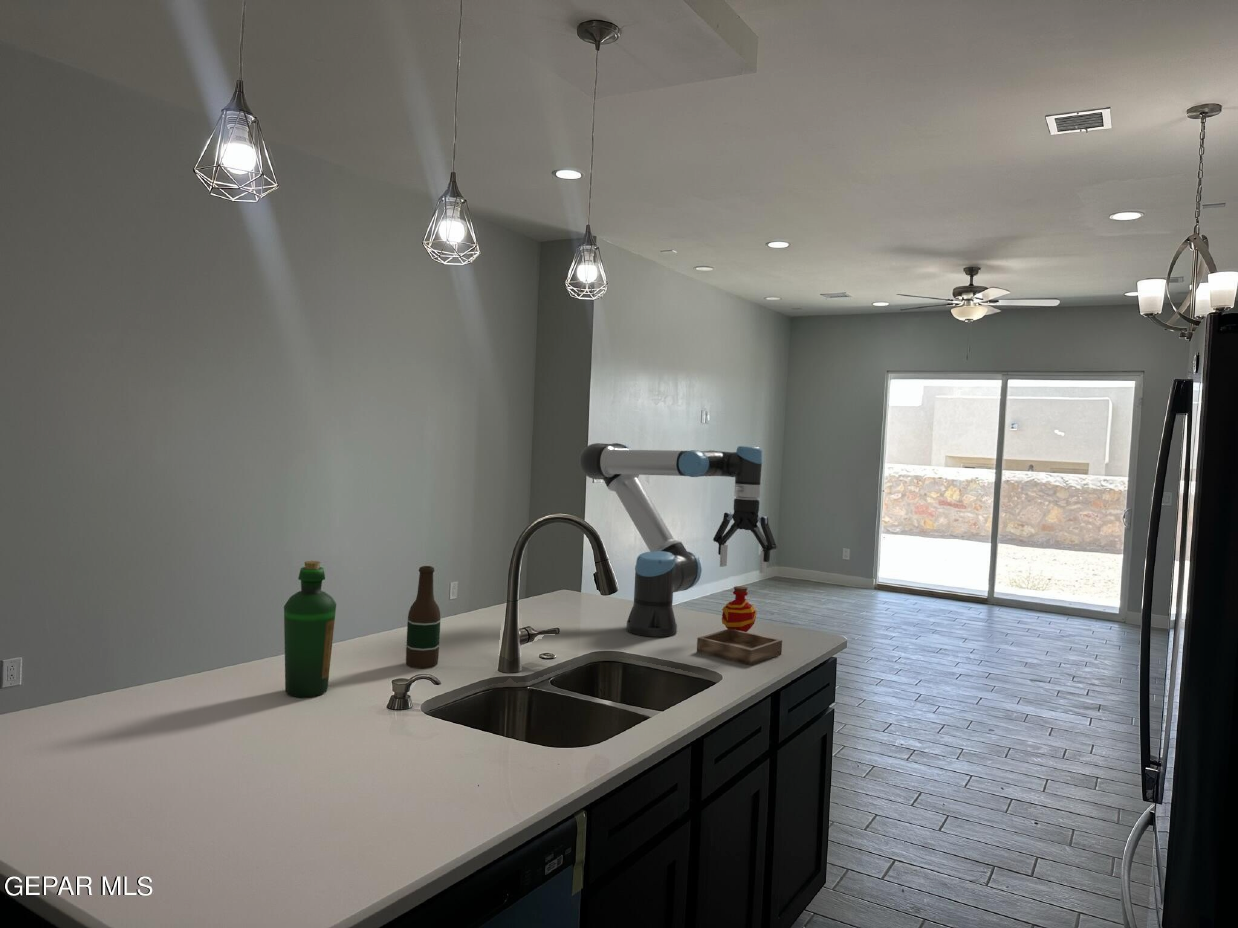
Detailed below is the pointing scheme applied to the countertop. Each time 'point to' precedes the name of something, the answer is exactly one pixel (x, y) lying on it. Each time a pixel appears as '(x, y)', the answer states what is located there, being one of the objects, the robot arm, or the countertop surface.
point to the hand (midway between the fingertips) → (742, 569)
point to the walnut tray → (739, 646)
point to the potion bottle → (739, 612)
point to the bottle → (308, 634)
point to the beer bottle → (423, 624)
